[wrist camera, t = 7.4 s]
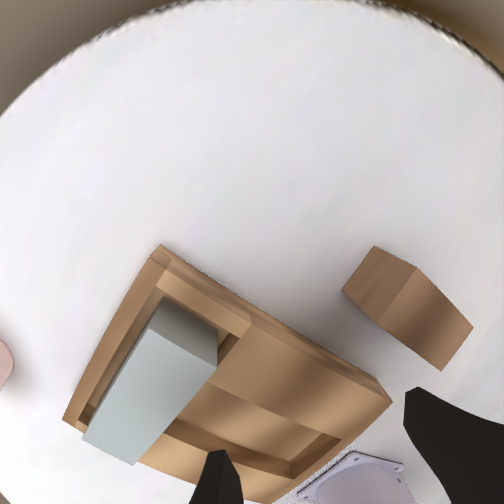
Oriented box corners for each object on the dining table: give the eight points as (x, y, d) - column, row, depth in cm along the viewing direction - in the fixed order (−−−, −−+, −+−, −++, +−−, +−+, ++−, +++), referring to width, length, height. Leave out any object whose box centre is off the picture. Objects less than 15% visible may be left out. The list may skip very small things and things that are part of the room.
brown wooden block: (431, 299, 20) (473, 327, 15) (404, 336, 20) (440, 371, 16) (373, 245, 19) (417, 267, 14) (340, 289, 19) (375, 323, 14)
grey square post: (217, 329, 18) (217, 368, 14) (142, 425, 19) (132, 465, 15) (163, 295, 17) (148, 328, 13) (98, 401, 18) (81, 438, 14)
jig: (376, 378, 21) (393, 401, 18) (264, 480, 23) (269, 505, 20) (160, 244, 17) (148, 257, 14) (75, 395, 19) (61, 419, 16)
